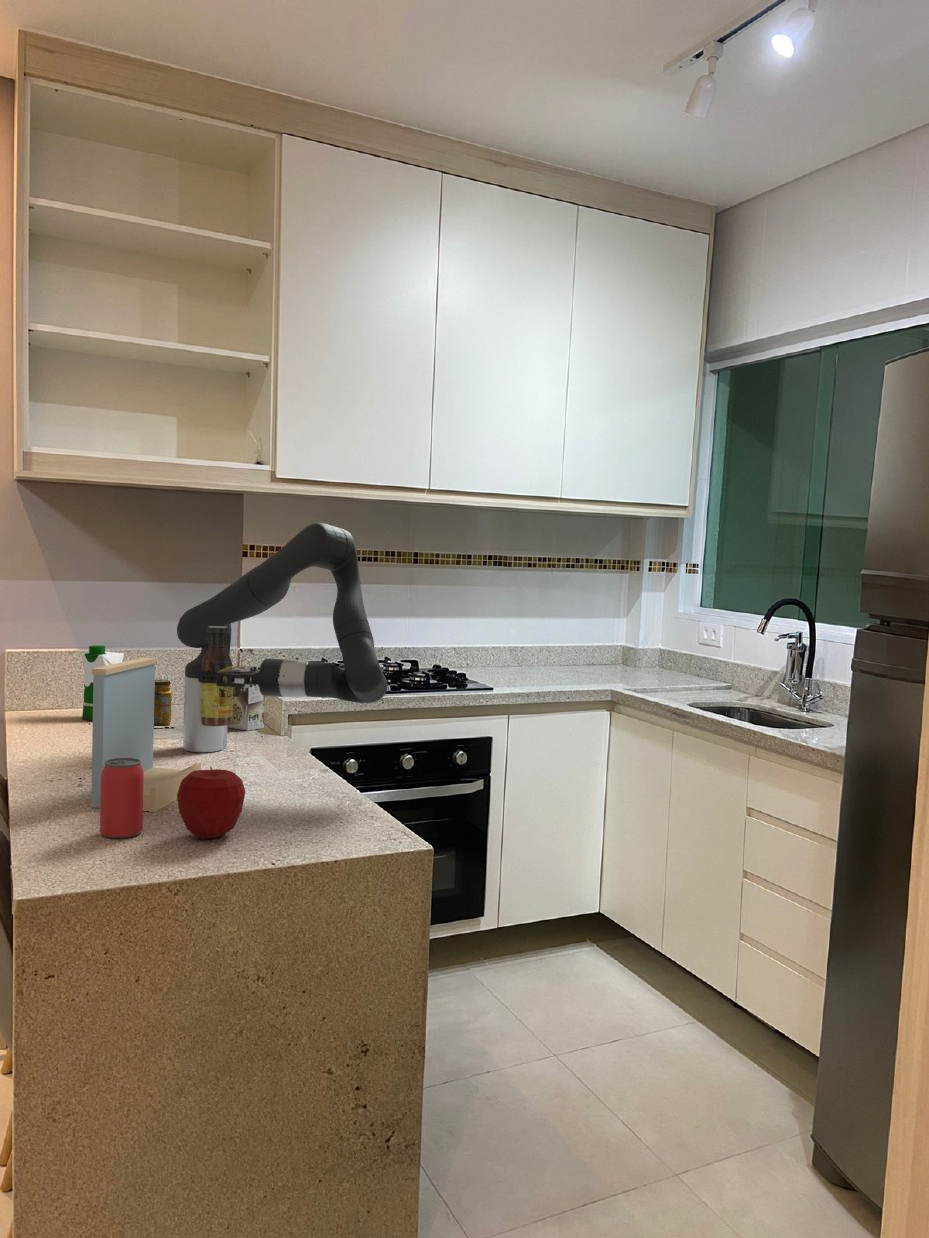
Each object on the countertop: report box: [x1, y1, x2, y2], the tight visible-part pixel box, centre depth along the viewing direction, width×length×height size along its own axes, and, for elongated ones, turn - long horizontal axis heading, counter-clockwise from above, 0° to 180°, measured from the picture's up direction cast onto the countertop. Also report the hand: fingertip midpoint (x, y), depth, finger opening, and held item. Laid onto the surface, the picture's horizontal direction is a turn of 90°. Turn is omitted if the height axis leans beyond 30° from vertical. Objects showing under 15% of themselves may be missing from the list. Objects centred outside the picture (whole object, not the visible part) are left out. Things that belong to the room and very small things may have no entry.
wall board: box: [90, 657, 202, 813], centre depth 173 cm, size 20×12×25 cm, turn 173°
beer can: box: [99, 758, 144, 839], centre depth 150 cm, size 7×7×12 cm
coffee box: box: [227, 665, 266, 732], centre depth 246 cm, size 9×6×16 cm
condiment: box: [154, 679, 175, 726], centre depth 243 cm, size 7×8×12 cm
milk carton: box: [81, 644, 125, 722], centre depth 249 cm, size 9×9×20 cm
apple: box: [177, 766, 246, 839], centre depth 151 cm, size 11×11×12 cm
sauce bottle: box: [201, 626, 234, 727], centre depth 185 cm, size 7×6×20 cm
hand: (205, 674), depth 186 cm, fingers closed on sauce bottle, 6 cm apart
